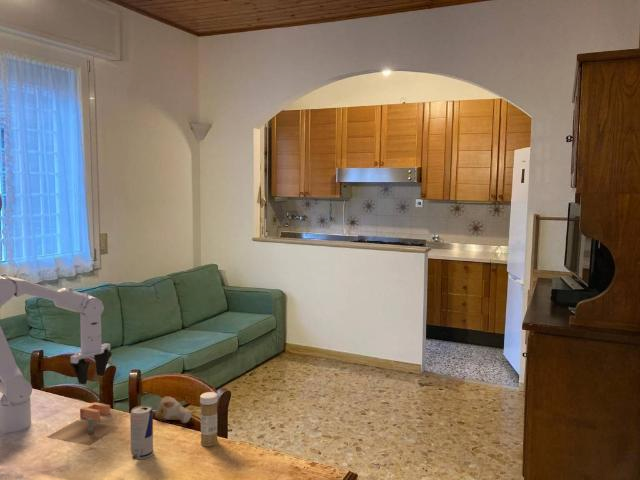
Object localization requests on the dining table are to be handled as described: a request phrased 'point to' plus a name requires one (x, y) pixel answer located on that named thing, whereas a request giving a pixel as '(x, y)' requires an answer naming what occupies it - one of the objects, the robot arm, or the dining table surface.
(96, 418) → the c link
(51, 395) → the dining table surface
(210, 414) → the sprinkles bottle
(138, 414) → the energy drink
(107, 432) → the stand
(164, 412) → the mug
